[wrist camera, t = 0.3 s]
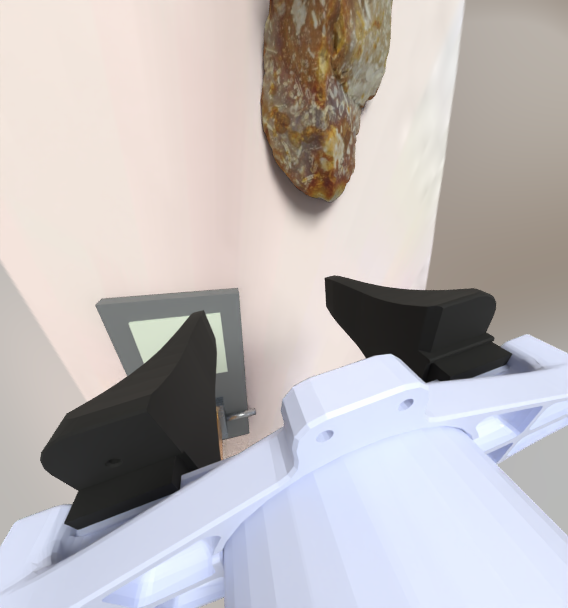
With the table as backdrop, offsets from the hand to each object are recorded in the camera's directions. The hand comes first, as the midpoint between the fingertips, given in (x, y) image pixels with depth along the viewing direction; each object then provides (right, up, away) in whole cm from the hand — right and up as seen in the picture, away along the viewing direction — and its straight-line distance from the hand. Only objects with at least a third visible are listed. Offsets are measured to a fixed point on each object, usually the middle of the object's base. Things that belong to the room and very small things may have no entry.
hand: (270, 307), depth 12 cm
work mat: (-10, -9, +14) cm, 20 cm away
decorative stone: (+3, +16, +4) cm, 17 cm away
